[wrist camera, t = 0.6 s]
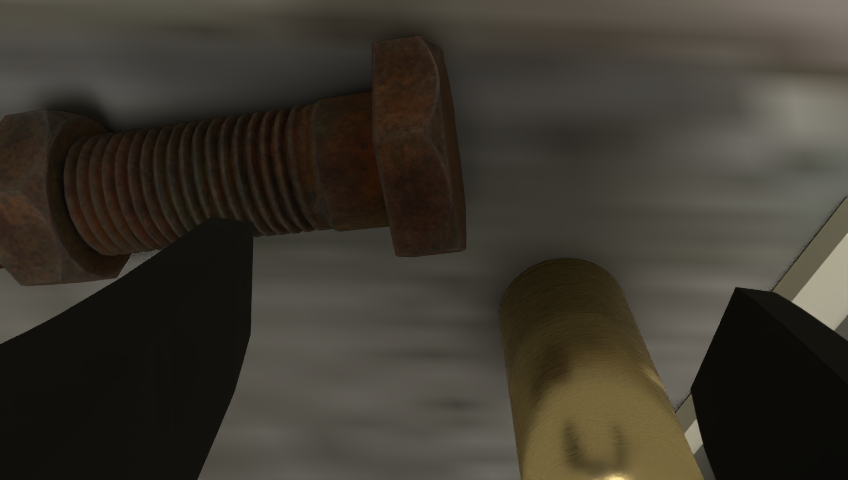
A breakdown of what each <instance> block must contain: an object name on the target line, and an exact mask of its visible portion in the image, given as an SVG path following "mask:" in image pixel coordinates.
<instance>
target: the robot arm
mask: <svg viewBox="0 0 848 480" xmlns="http://www.w3.org/2000/svg"><path fill="white" fill-rule="evenodd" d="M253 223H254V222H248V221H241V220H233V219H226V218H219V217H210V218H208V219H207V220H205V221H203V222H202V223H201V224H199V225H198V226H196V227H195V228H193V229H192V230H190V231H189V232H188V233H186V234H185V235H183V236H182V237H180V238H179V239H178V240H176V241H175V242H173V243H172V244H170V245H169V246H167V247H166V248H165V249H163V250H162V251H160V252H159V253H157V254H156V255H154V256H153V257H151V258H150V259H148V260H147V261H145V262H144V263H142V264H141V265H139V266H138V267H136V268H135V269H133V270H132V271H130V272H129V273H127V274H126V275H124V276H123V277H121V278H120V279H118V280H116V281H115V282H113V283H111V284H110V285H108V286H106V287H105V288H103V289H101V290H100V291H98V292H96V293H95V294H93V295H91V296H89V297H88V298H86V299H84V300H83V301H81V302H79V303H78V304H76V305H74V306H73V307H71V308H69V309H68V310H66V311H64V312H62V313H61V314H59V315H57V316H55V317H53V318H52V319H50V320H48V321H46V322H44V323H42V324H40V325H38V326H36V327H34V328H32V329H30V330H29V331H27V332H25V333H23V334H20V335H18V336H16V337H14V338H12V339H10V340H8V341H6V342H4V343H2V344H0V480H197V479H198V477H199V474H200V472H201V470H202V467H203V465H204V463H205V460H206V458H207V456H208V453H209V451H210V449H211V446H212V444H213V442H214V439H215V437H216V435H217V432H218V430H219V428H220V425H221V423H222V420H223V418H224V416H225V413H226V411H227V409H228V406H229V404H230V401H231V399H232V396H233V394H234V392H235V388H236V385H237V381H238V378H239V374H240V371H241V367H242V364H243V360H244V356H245V353H246V349H247V345H248V342H249V338H250V334H251V300H252V262H253ZM690 390H691V395H692V399H693V404H694V409H695V414H696V418H697V423H698V427H699V431H700V435H701V439H702V442H703V446H704V450H705V453H706V455H707V458H708V461H709V463H710V466H711V469H712V471H713V474H714V476H715V479H716V480H848V341H847V340H846V339H845V338H843V337H842V336H840V335H839V334H838V333H836V332H835V331H833V330H832V329H831V328H829V327H828V326H826V325H825V324H824V323H822V322H821V321H819V320H818V319H817V318H815V317H814V316H812V315H811V314H809V313H808V312H806V311H805V310H803V309H802V308H800V307H799V306H797V305H796V304H794V303H793V302H791V301H789V300H788V299H786V298H784V297H782V296H781V295H779V294H777V293H775V292H768V291H761V290H754V289H746V288H739V287H736V288H735V290H734V292H733V295H732V297H731V299H730V301H729V304H728V306H727V308H726V310H725V313H724V315H723V317H722V319H721V322H720V324H719V326H718V328H717V331H716V333H715V335H714V337H713V340H712V342H711V344H710V346H709V349H708V351H707V353H706V355H705V358H704V360H703V362H702V364H701V367H700V369H699V371H698V373H697V376H696V378H695V380H694V382H693V385H692V387H691V389H690Z"/></svg>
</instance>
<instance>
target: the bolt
mask: <svg viewBox="0 0 848 480" xmlns="http://www.w3.org/2000/svg"><path fill="white" fill-rule="evenodd" d="M210 217H219V218H226V219H233V220H241V221H248V222H254V223H253V236H255V237H259V236H262V235H265V236H271V235H276V234H278V235H283V234H288V233H300V232H301V231H302V230H303V231H304V232H310V231H313V230H315V229H317V230H327V229H335V230H337V231H348V230H358V229H367V228H376V227H386V226H390V230H391V235H392V240H393V244H394V249H395V253H396V256H399V257H419V256H427V255H435V254H443V253H452V252H460V251H463V250H465V249H466V206H465V197H464V188H463V179H462V171H461V162H460V154H459V147H458V139H457V132H456V126H455V115H454V108H453V102H452V96H451V91H450V85H449V80H448V75H447V71H446V66H445V62H444V58H443V51H442V49H441V48H440V47H439V46H438V45H437V44H435V43H434V42H433V41H431V40H428V39H426V38H424V37H422V36H412V37H405V38H398V39H391V40H384V41H377V42H373V43H372V91H369V92H363V93H357V94H351V95H344V96H338V97H332V98H326V99H320V100H318V101H317V102H316V103H315V104H311V105H307V106H305V107H304V108H302V107H300V106H295V107H294V108H293V109H292V110H290V109H289V108H282V109H281V110H280V111H279V112H278V111H277V110H269V111H268V112H267V113H266V114H265V113H264V112H263V111H262V112H257V113H254V114H253V115H251V114H248V113H244V114H243V115H242V116H241V117H240V116H237V115H232V116H229V117H227V118H225V117H219V118H215V119H214V120H213V119H205V120H202V121H197V120H195V121H192V122H190V123H185V122H182V123H180V124H179V125H175V124H169V125H166V126H157V127H154V128H153V129H152V128H147V127H146V128H144V129H142V130H136V129H133V130H131V131H130V132H127V131H121V132H118V133H109V132H108V131H107V130H106V129H105V128H104V127H103V126H102V125H101V124H99V123H98V122H97V121H95V120H93V119H91V118H89V117H86V116H81V115H77V114H73V113H68V112H61V111H55V110H48V109H44V110H37V111H31V112H24V113H18V114H11V115H6V116H5V117H4V118H3V120H2V121H1V122H0V269H1V268H5V269H6V270H7V271H8V272H9V273H10V274H11V275H12V277H13V278H14V279H15V280H16V281H17V282H18V283H19V284H20V285H24V286H35V285H53V284H67V283H80V282H88V281H96V280H105V279H113V278H117V276H118V275H119V273H120V272H121V270H122V268H123V267H124V265H125V264H126V262H127V261H128V259H129V258H130V255H131V253H139V252H142V251H145V252H148V251H153V250H155V249H157V250H163V249H165V248H166V247H167V246H169V245H170V244H172V243H173V242H175V241H176V240H178V239H179V238H180V237H182V236H183V235H185V234H186V233H188V232H189V231H190V230H192V229H193V228H195V227H196V226H198V225H199V224H201V223H202V222H203V221H205V220H207V219H208V218H210Z"/></svg>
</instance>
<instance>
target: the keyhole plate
mask: <svg viewBox="0 0 848 480" xmlns="http://www.w3.org/2000/svg"><path fill="white" fill-rule="evenodd" d="M772 292H775V293H777V294H779V295H781V296H782V297H784V298H786V299H788V300H789V301H791V302H793V303H794V304H796V305H797V306H799V307H800V308H802V309H803V310H805V311H806V312H808V313H809V314H811V315H812V316H814V317H815V318H817V319H818V320H819V321H821V322H822V323H824V324H825V325H826V326H828V327H829V328H831V329H832V330H833V331H835V332H836V333H838V334H839V335H840V336H842V337H843V338H845V339H846V340H847V341H848V197H847V198H846V199H845V200H844V201H843V203H842V204H841V205H840V206H839V208H838V209H837V210H836V211H835V213H834V214H833V215H832V216H831V218H830V219H829V220H828V222H827V223H826V224H825V225H824V227H823V228H822V229H821V230H820V232H819V233H818V234H817V235H816V237H815V238H814V239H813V240H812V242H811V243H810V244H809V245H808V247H807V248H806V249H805V251H804V252H803V253H802V254H801V256H800V257H799V258H798V259H797V261H796V262H795V263H794V264H793V266H792V267H791V268H790V269H789V271H788V272H787V273H786V274H785V276H784V277H783V278H782V280H781V281H780V282H779V283H778V285H777V286H776V287H775V288H774V290H773V291H772ZM675 414H676V416H677V419H678V421H679V423H680V425H681V428H682V430H683V432H684V435H685V437H686V439H687V442H688V444H689V446H690V448H691V451H692V453H693V455H694V458H695V460H696V462H697V465H698V467H699V469H700V471H701V474H702V476H703V478H704V480H716V479H715V476H714V474H713V471H712V469H711V466H710V463H709V461H708V458H707V455H706V453H705V450H704V446H703V442H702V439H701V435H700V431H699V427H698V423H697V418H696V414H695V409H694V404H693V399H692V395H691V394H690V396H689V397H688V398H687V399H686V401H685V402H684V403H683V404H682V406H681V407H680V408H679V409H678V411H677V412H676V413H675Z"/></svg>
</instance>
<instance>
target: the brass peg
mask: <svg viewBox="0 0 848 480" xmlns="http://www.w3.org/2000/svg"><path fill="white" fill-rule="evenodd" d="M499 322H500V330H501V337H502V344H503V352H504V359H505V366H506V374H507V381H508V388H509V396H510V403H511V410H512V418H513V425H514V432H515V440H516V447H517V454H518V462H519V469H520V476H521V480H704V478H703V476H702V474H701V471H700V469H699V467H698V465H697V462H696V460H695V458H694V455H693V453H692V451H691V448H690V446H689V444H688V442H687V439H686V437H685V435H684V432H683V430H682V428H681V425H680V423H679V421H678V419H677V416H676V414H675V412H674V409H673V407H672V405H671V402H670V400H669V398H668V396H667V393H666V391H665V389H664V386H663V384H662V382H661V379H660V377H659V375H658V373H657V370H656V368H655V366H654V363H653V361H652V359H651V356H650V354H649V352H648V349H647V347H646V345H645V343H644V340H643V338H642V336H641V333H640V331H639V329H638V326H637V324H636V322H635V320H634V317H633V315H632V313H631V310H630V308H629V306H628V303H627V301H626V299H625V297H624V294H623V292H622V290H621V288H620V286H619V284H618V283H617V281H616V280H615V279H614V278H613V276H611V275H610V274H609V273H608V272H607V271H605V270H604V269H603V268H601V267H599V266H597V265H595V264H593V263H590V262H587V261H583V260H578V259H557V260H551V261H547V262H543V263H541V264H538V265H535V266H533V267H532V268H530V269H528V270H526V271H525V272H523V273H522V274H521V275H519V276H518V277H517V278H516V279H515V280H514V281H513V282H512V283H511V284H510V286H509V287H508V289H507V290H506V292H505V294H504V296H503V298H502V301H501V304H500V309H499Z"/></svg>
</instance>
